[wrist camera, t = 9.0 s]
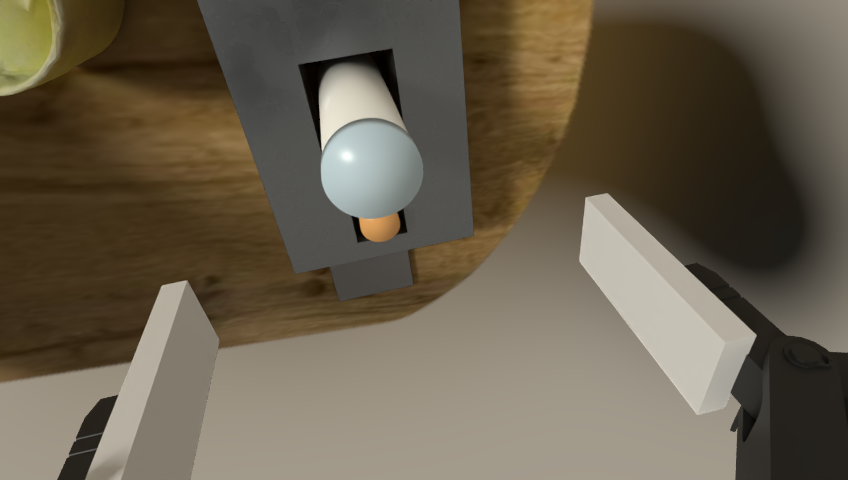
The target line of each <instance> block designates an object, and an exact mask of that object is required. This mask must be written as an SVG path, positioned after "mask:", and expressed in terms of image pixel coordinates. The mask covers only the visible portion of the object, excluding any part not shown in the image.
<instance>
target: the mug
mask: <svg viewBox="0 0 848 480" xmlns="http://www.w3.org/2000/svg"><path fill="white" fill-rule="evenodd" d="M123 14H124V0H0V96H7V95H12V94H16V93H22V92H24V91H26V90H29V89H31V88H34V87H37V86H40V85H42V84H44V83H46V82H48V81H50V80H53V79H55V78H57V77H59V76H61V75H64V74H66V73H68V72H69V71H70V70H72V69H73V68H74V67H75V66H77V65H79V64H81V63H83V62H84V61H86V60H88V59H91V58H93V57H94V56H96V55H98V54H99V53H101V52H103V51H104V50H105V49H106V48H107V47H108V46H109V45H110V44H111V42H112V41H113V40H114V38H115V37H116V35H117V33H118V31H119V28H120V26H121V22H122V18H123Z"/></svg>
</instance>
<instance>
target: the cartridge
mask: <svg viewBox="0 0 848 480" xmlns="http://www.w3.org/2000/svg"><path fill="white" fill-rule="evenodd" d="M318 94H319V111H320V127H321V143H322V156H321V180H322V185H323V188H324V191H325V193H326V195H327V197H328V198H329V199H330V201H331V202H332V203H333V204H334V205H335V206H336V207H337V208H339V209H340V210H341V211H343V212H345V213H347V214H349V215H351V216H355V217H358V218H365V219H376V218H382V217H386V216H389V215H392V214H394V213H396V212H398V211H400V210H401V209H403V208H404V207H405V206H407V205H408V204H409V203H410V202H411V201H412V200H413V198H414V197H415V196H416V194H417V192H418V191H419V189H420V186H421V183H422V179H423V162H422V158H421V156H420V153H419V151H418V149H417V147H416V145H415V143H414V141H413V139H412V138H411V136H410V135H409V134H408V132H407V130H406V128H405V125H404V123H403V121H402V119H401V117H400V114H399V112H398V110H397V108H396V106H395V103H394V101H393V99H392V97H391V94H390V92H389V90H388V88H387V86H386V83H385V81H384V79H383V77H382V75H381V72H380V70H379V68H378V66H377V64H376V62H375V61H374V59H373V58H372V57H371V56H370V55H369V54H368V53H362V54H357V55H351V56H345V57H339V58H333V59H327V60H322V62H321V64H320V67H319V70H318Z"/></svg>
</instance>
